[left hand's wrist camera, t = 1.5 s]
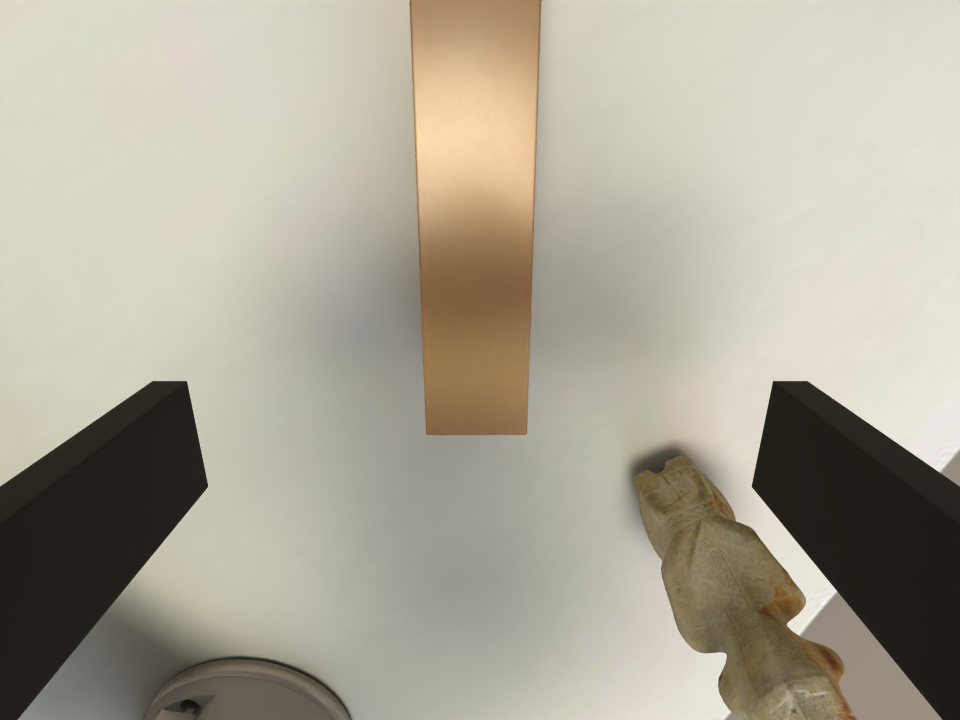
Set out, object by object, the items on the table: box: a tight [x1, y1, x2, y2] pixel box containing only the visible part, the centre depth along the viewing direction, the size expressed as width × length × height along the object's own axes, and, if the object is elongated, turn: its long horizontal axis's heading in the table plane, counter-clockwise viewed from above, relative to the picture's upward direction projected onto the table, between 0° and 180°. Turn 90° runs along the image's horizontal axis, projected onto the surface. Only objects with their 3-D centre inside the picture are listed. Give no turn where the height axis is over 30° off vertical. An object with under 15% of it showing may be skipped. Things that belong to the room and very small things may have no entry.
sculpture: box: [633, 455, 856, 720], centre depth 27 cm, size 6×7×15 cm
